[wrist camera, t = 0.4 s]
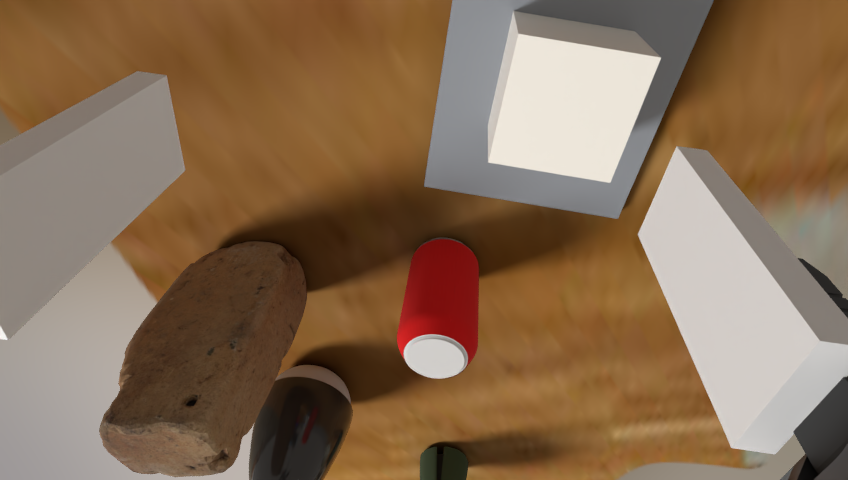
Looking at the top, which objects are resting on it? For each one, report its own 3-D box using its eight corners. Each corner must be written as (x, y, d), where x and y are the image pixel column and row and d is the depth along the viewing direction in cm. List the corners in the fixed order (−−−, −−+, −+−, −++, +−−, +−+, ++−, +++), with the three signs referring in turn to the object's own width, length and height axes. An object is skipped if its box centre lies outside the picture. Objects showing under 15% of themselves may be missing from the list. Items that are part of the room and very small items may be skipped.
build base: (470, -112, 30) (466, -110, 24) (734, -68, 30) (794, -55, 24) (425, 179, 42) (415, 227, 36) (614, 211, 42) (635, 264, 36)
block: (303, 237, 47) (206, 427, 30) (317, 298, 51) (240, 492, 35) (193, 237, 48) (44, 419, 32) (216, 296, 52) (96, 482, 36)
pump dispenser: (269, 396, 61) (216, 525, 49) (278, 341, 55) (219, 472, 43) (350, 416, 62) (317, 548, 50) (367, 364, 56) (334, 500, 44)
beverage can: (446, 220, 44) (436, 316, 34) (492, 262, 46) (495, 364, 36) (398, 256, 47) (376, 354, 37) (444, 294, 49) (434, 397, 39)
